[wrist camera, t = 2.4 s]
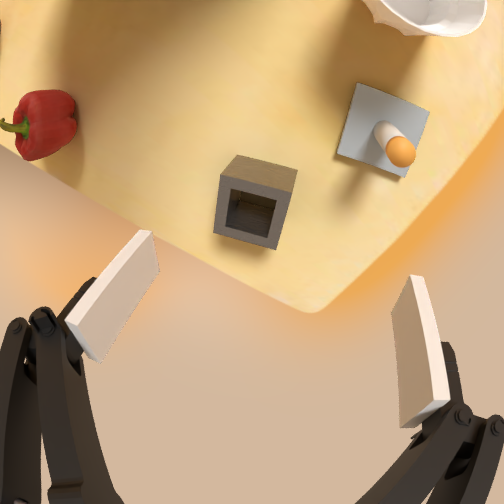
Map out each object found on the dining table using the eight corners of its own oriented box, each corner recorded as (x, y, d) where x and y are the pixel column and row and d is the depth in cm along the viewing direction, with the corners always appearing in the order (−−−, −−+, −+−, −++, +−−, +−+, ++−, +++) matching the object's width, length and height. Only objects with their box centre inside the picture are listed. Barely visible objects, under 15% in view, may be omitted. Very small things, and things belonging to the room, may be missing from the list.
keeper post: (336, 150, 29) (340, 181, 22) (356, 82, 24) (370, 88, 17) (402, 174, 28) (423, 211, 22) (426, 110, 23) (459, 129, 17)
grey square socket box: (229, 206, 36) (213, 232, 31) (237, 154, 32) (220, 174, 27) (283, 221, 36) (275, 250, 31) (297, 170, 31) (292, 192, 27)
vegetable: (38, 127, 34) (-7, 152, 26) (51, 71, 28) (-2, 88, 20) (79, 156, 36) (32, 187, 28) (96, 96, 30) (40, 117, 22)
